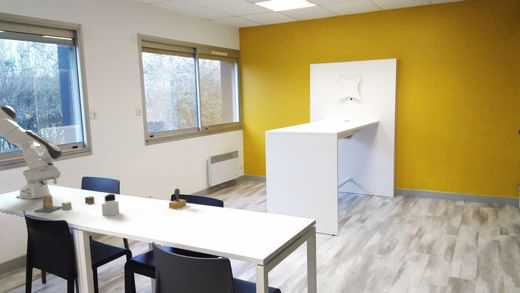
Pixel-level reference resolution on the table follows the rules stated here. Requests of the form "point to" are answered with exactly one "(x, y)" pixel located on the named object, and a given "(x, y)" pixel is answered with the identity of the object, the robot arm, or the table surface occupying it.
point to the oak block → (47, 202)
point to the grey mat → (48, 209)
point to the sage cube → (66, 205)
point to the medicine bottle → (110, 205)
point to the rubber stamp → (177, 201)
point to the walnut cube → (89, 199)
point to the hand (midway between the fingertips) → (48, 184)
